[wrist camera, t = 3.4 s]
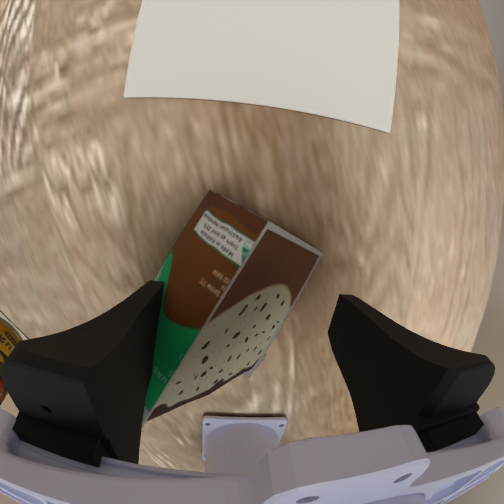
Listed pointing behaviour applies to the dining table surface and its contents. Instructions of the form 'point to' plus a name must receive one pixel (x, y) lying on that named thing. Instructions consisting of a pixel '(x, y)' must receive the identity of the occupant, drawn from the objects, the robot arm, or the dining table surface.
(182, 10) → the mat
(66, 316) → the dining table surface
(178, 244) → the food container
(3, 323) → the condiment
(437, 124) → the dining table surface
